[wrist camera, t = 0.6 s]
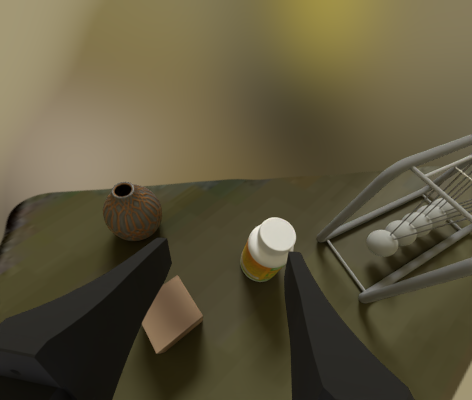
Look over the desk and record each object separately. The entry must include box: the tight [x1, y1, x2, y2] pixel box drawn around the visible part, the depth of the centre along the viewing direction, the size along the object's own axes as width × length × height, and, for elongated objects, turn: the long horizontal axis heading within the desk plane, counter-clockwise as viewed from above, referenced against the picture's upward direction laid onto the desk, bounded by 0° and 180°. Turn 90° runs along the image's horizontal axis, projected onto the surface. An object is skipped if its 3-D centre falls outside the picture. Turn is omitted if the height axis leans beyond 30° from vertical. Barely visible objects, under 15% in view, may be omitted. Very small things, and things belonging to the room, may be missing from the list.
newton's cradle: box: [316, 134, 472, 303], centre depth 29 cm, size 30×10×18 cm, turn 116°
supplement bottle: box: [240, 218, 296, 282], centre depth 27 cm, size 5×5×10 cm
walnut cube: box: [142, 275, 203, 354], centre depth 24 cm, size 5×5×5 cm
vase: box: [103, 182, 162, 241], centre depth 28 cm, size 7×7×9 cm
